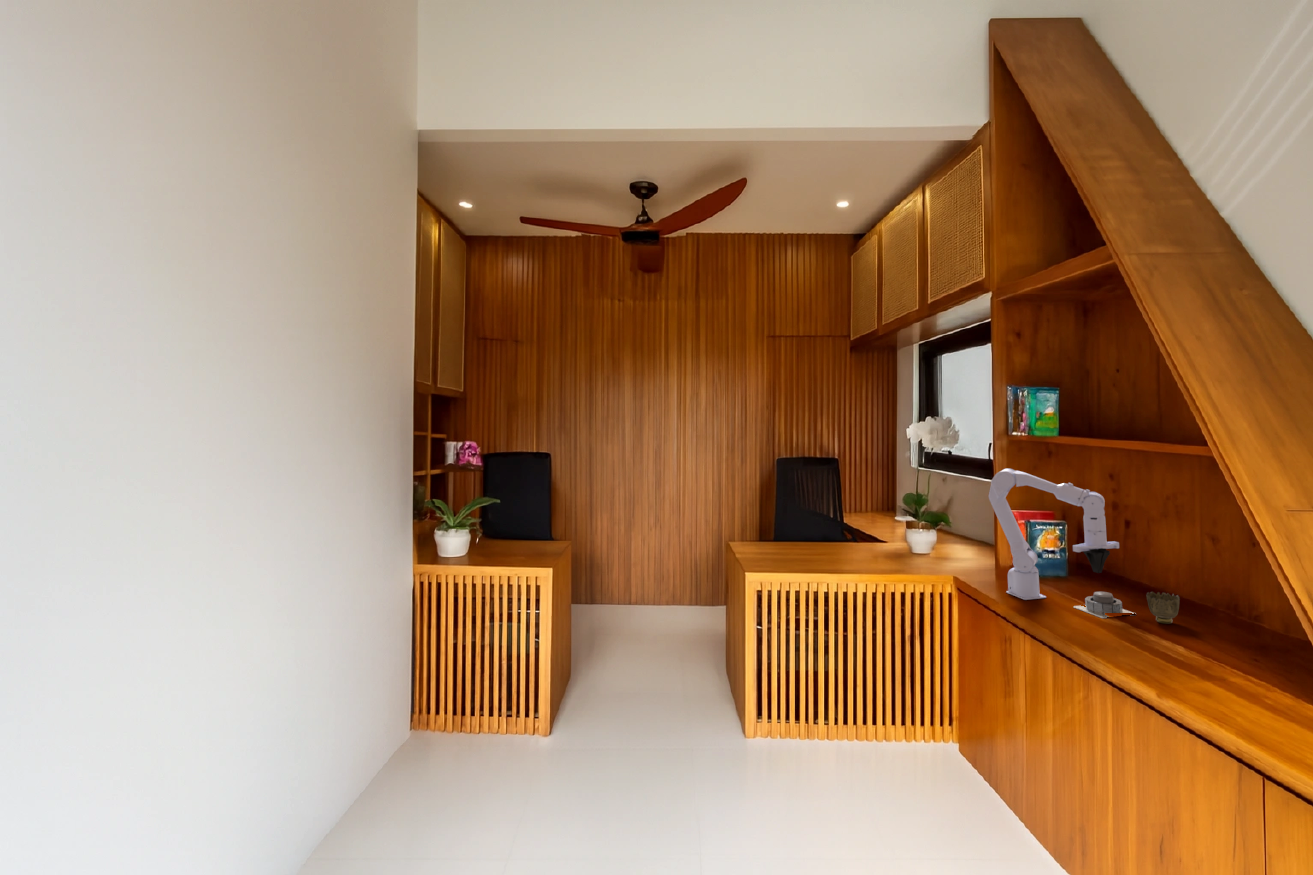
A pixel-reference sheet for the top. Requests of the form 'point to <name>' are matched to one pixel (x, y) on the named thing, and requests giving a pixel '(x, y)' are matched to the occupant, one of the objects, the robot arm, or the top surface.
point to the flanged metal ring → (1101, 607)
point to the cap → (1103, 597)
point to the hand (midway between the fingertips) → (1097, 572)
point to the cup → (1163, 606)
